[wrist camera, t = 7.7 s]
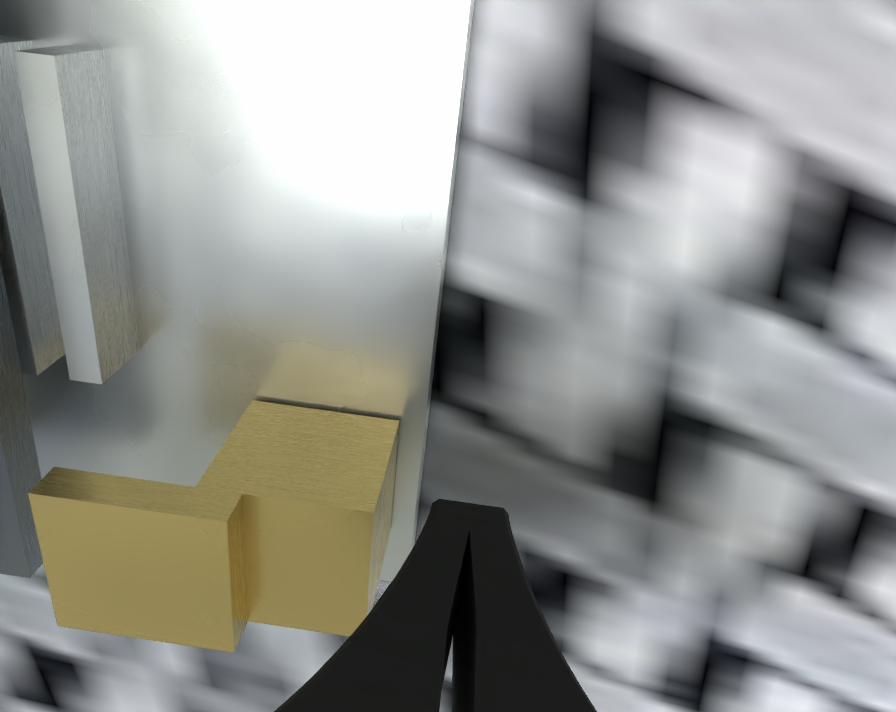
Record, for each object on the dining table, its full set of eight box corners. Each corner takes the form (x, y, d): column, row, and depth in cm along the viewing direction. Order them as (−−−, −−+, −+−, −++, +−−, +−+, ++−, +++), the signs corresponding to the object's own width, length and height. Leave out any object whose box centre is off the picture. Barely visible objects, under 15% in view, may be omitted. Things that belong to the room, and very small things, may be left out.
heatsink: (414, 547, 17) (397, 637, 15) (-172, 462, 18) (-281, 536, 15) (499, -224, 10) (493, -291, 8) (-475, -331, 11) (-764, -426, 8)
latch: (389, 534, 15) (356, 671, 12) (149, 499, 15) (57, 626, 12) (399, 420, 14) (365, 542, 11) (136, 384, 14) (27, 492, 11)
